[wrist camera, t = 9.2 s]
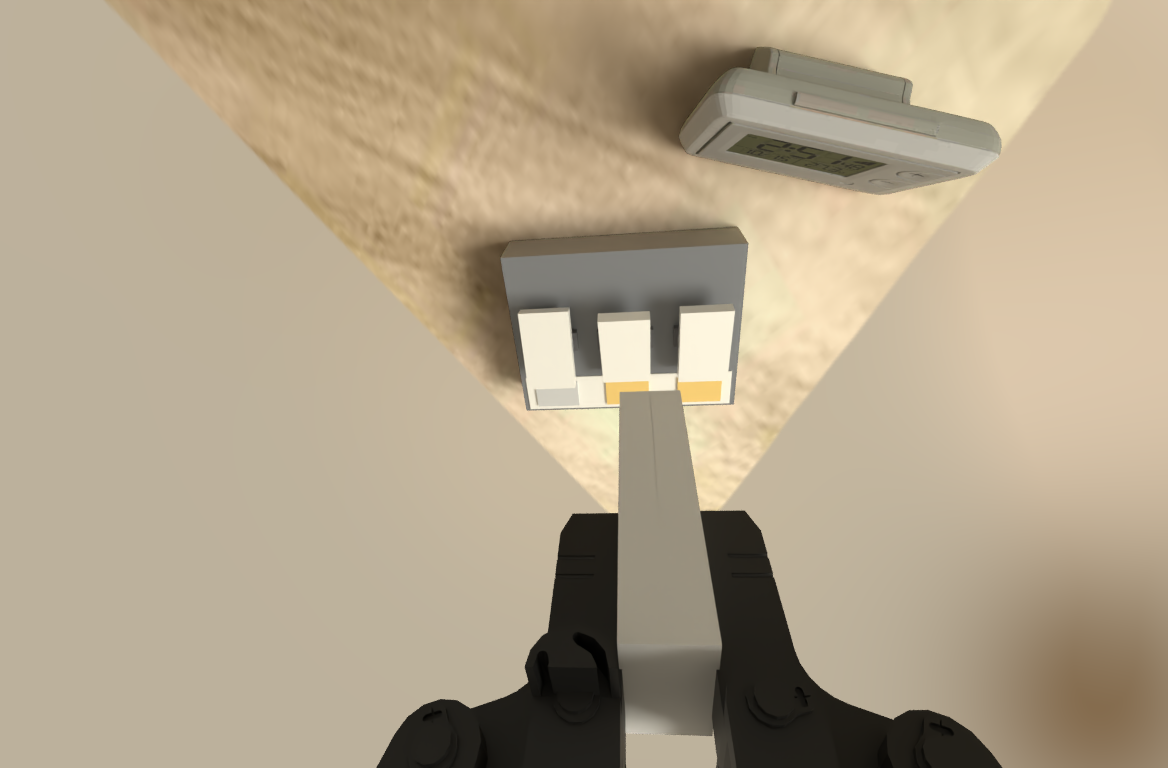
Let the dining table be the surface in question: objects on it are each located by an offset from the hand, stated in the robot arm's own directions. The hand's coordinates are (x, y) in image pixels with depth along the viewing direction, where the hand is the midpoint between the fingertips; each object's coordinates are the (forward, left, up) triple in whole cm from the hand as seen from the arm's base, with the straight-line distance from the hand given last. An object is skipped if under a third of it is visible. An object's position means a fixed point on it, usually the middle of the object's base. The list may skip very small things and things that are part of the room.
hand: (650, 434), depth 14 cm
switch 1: (+11, -7, -25) cm, 28 cm away
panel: (+11, -1, -30) cm, 32 cm away
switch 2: (+11, -1, -25) cm, 28 cm away
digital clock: (-3, +11, -31) cm, 33 cm away
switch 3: (+11, +5, -25) cm, 28 cm away
